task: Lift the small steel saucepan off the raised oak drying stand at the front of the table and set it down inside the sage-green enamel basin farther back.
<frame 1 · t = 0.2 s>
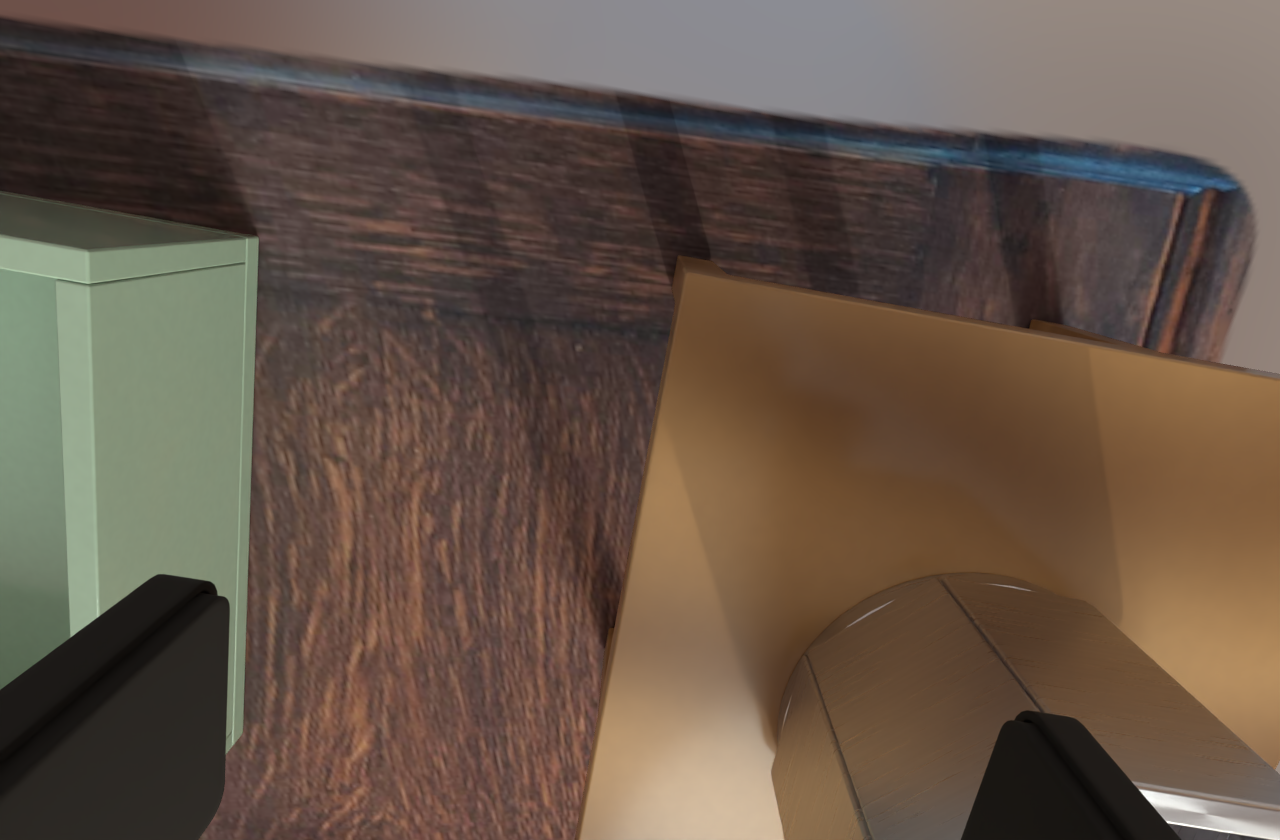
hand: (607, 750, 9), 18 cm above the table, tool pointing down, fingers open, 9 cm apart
saucepan: (948, 725, 15), point 12 cm above the table, touching drying stand, gripper
drying stand: (818, 500, 27), on the table
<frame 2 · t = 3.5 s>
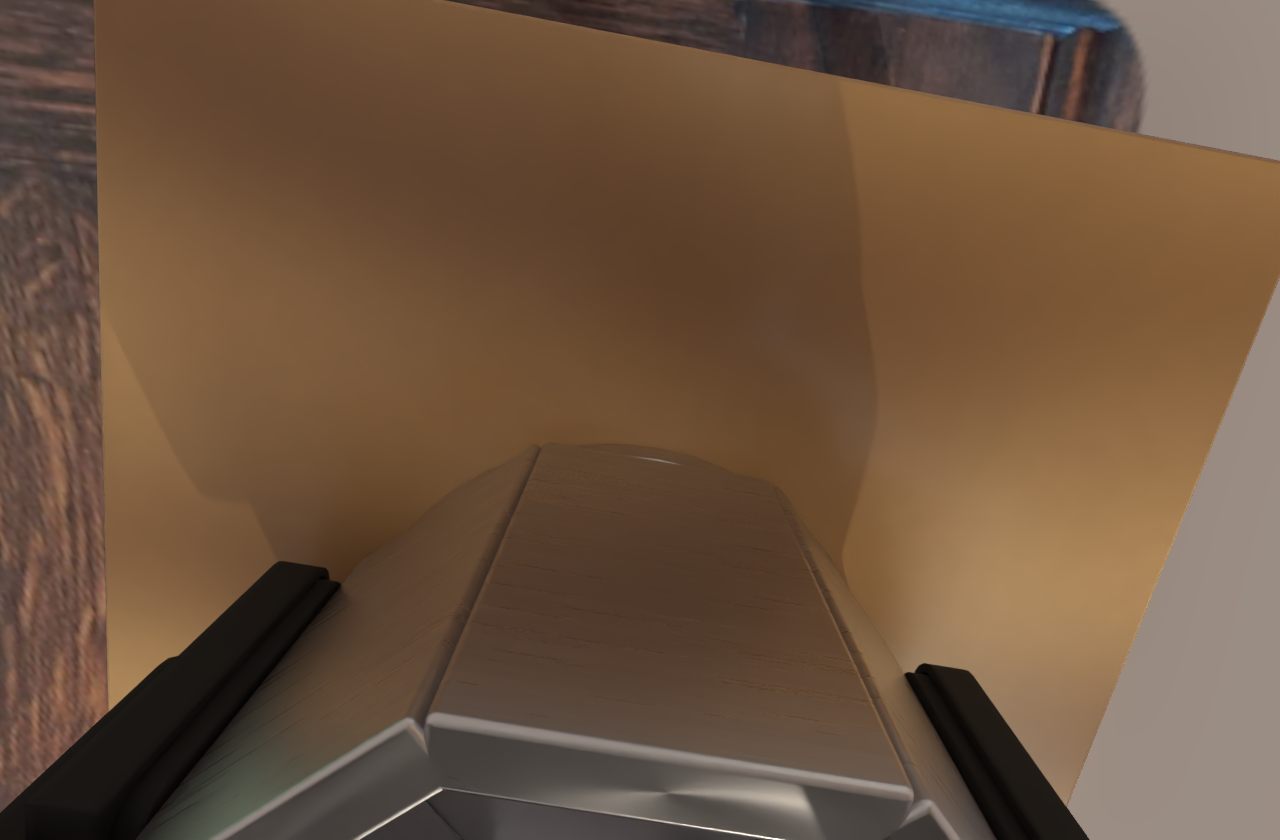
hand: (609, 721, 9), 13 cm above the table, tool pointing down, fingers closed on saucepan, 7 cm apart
saucepan: (611, 680, 10), point 12 cm above the table, touching drying stand, gripper
drying stand: (629, 429, 22), on the table
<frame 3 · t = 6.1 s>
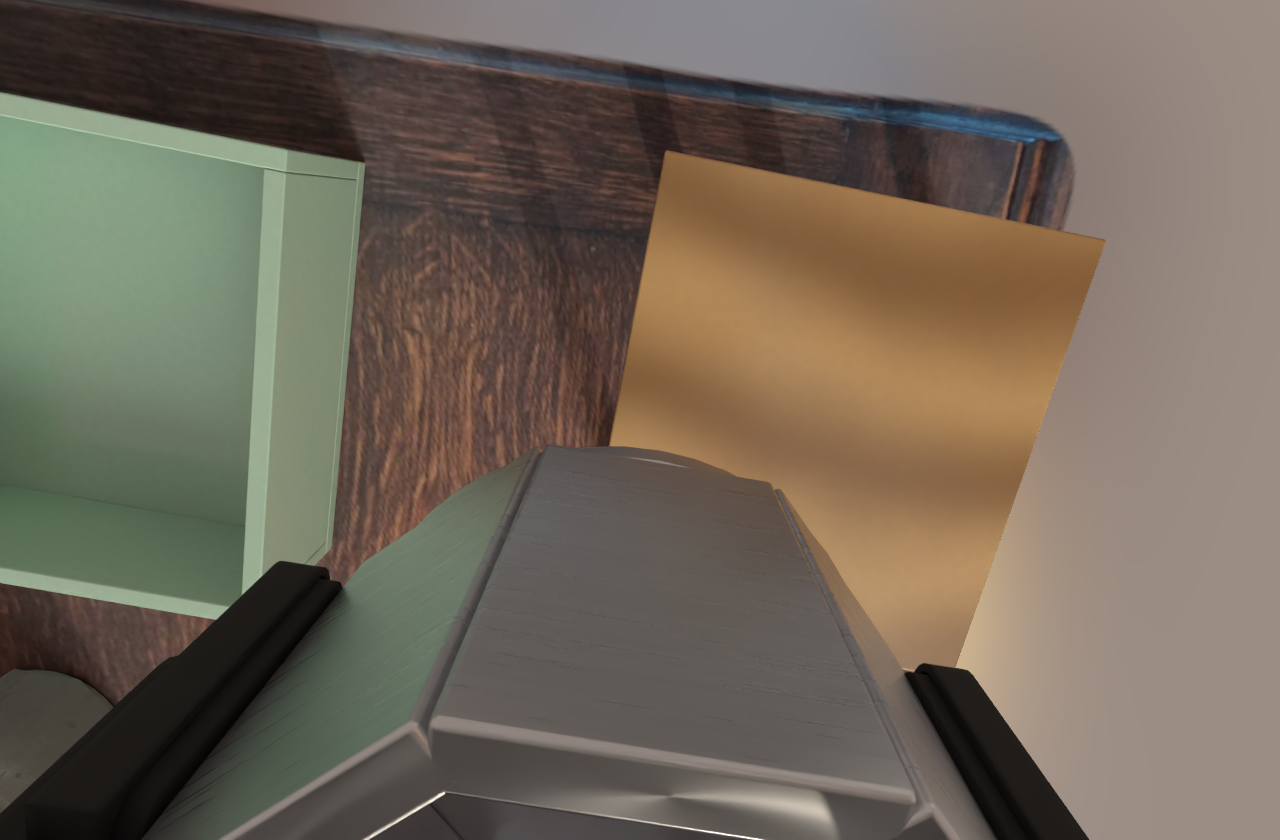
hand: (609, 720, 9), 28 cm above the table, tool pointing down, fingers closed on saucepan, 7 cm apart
saucepan: (612, 682, 10), point 27 cm above the table, touching gripper
drying stand: (766, 367, 37), on the table
coffeepot: (73, 741, 43), on the table
basin: (146, 331, 36), on the table
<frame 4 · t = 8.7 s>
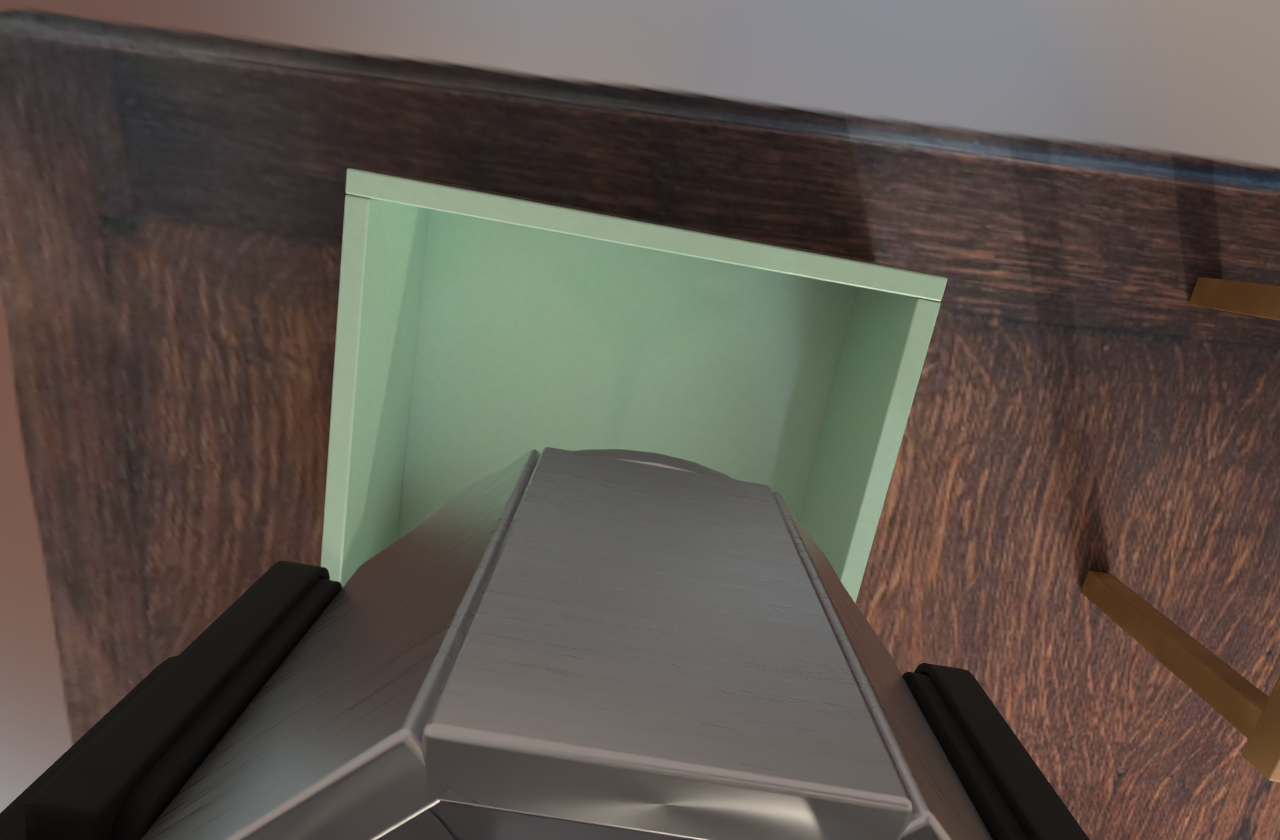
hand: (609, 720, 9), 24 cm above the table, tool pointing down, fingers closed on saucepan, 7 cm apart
saucepan: (610, 685, 10), point 23 cm above the table, touching gripper
drying stand: (1273, 467, 34), on the table
basin: (612, 439, 34), on the table
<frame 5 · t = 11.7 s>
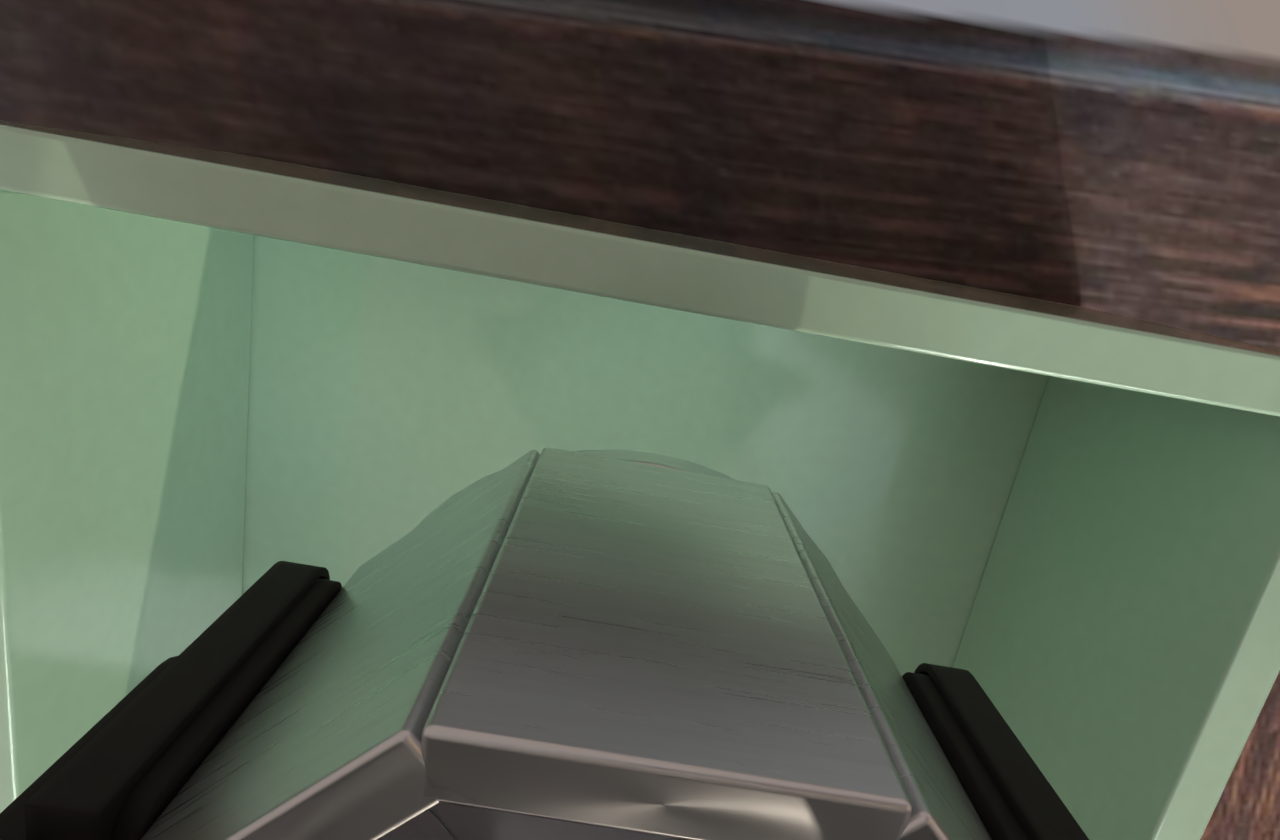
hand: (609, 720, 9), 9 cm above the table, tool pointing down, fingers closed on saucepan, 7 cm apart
saucepan: (610, 685, 10), point 8 cm above the table, touching gripper
basin: (603, 609, 20), on the table
when the fingers open (2 cm above the table, at t = 14.1 s): saucepan stays where it is, resting on basin.
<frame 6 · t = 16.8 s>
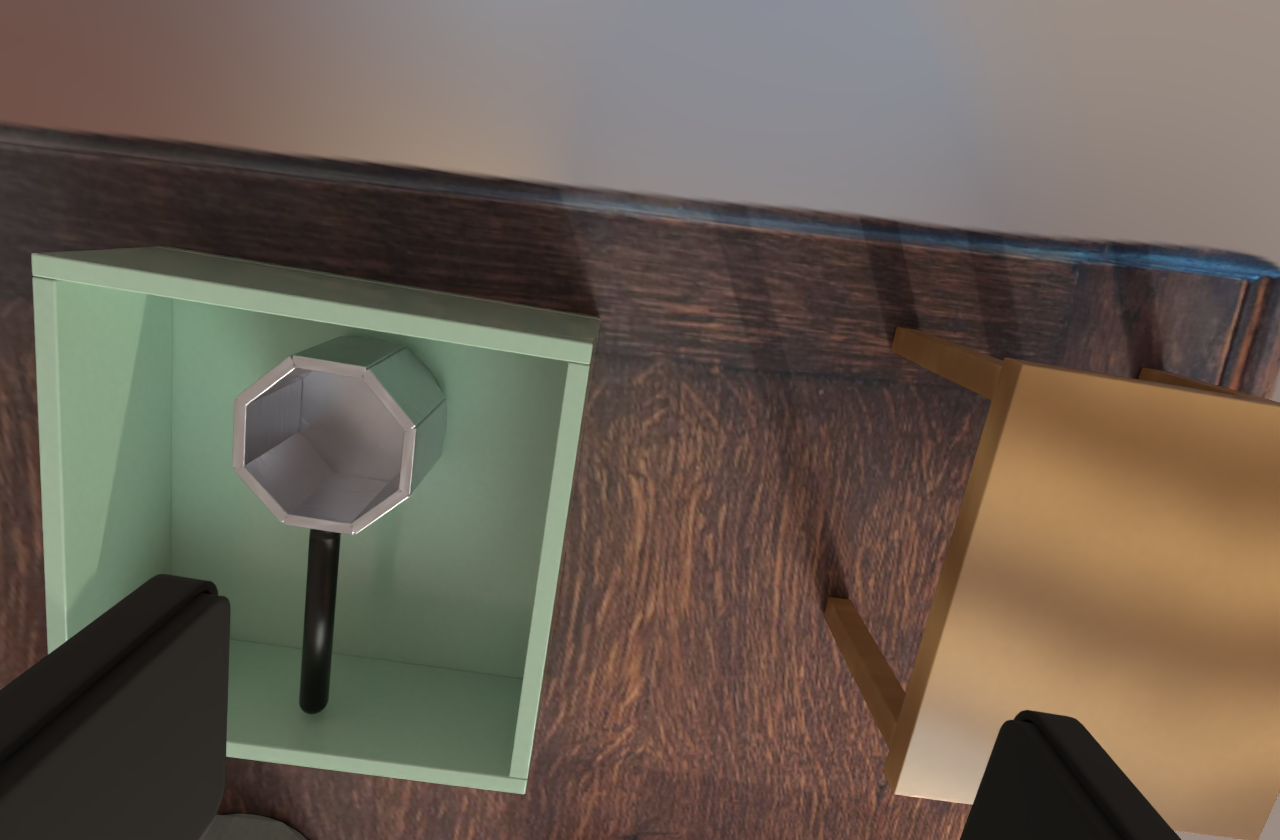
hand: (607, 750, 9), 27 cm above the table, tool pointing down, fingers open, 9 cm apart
saucepan: (371, 412, 34), point 1 cm above the table, touching basin
drying stand: (987, 498, 37), on the table
basin: (371, 483, 36), on the table
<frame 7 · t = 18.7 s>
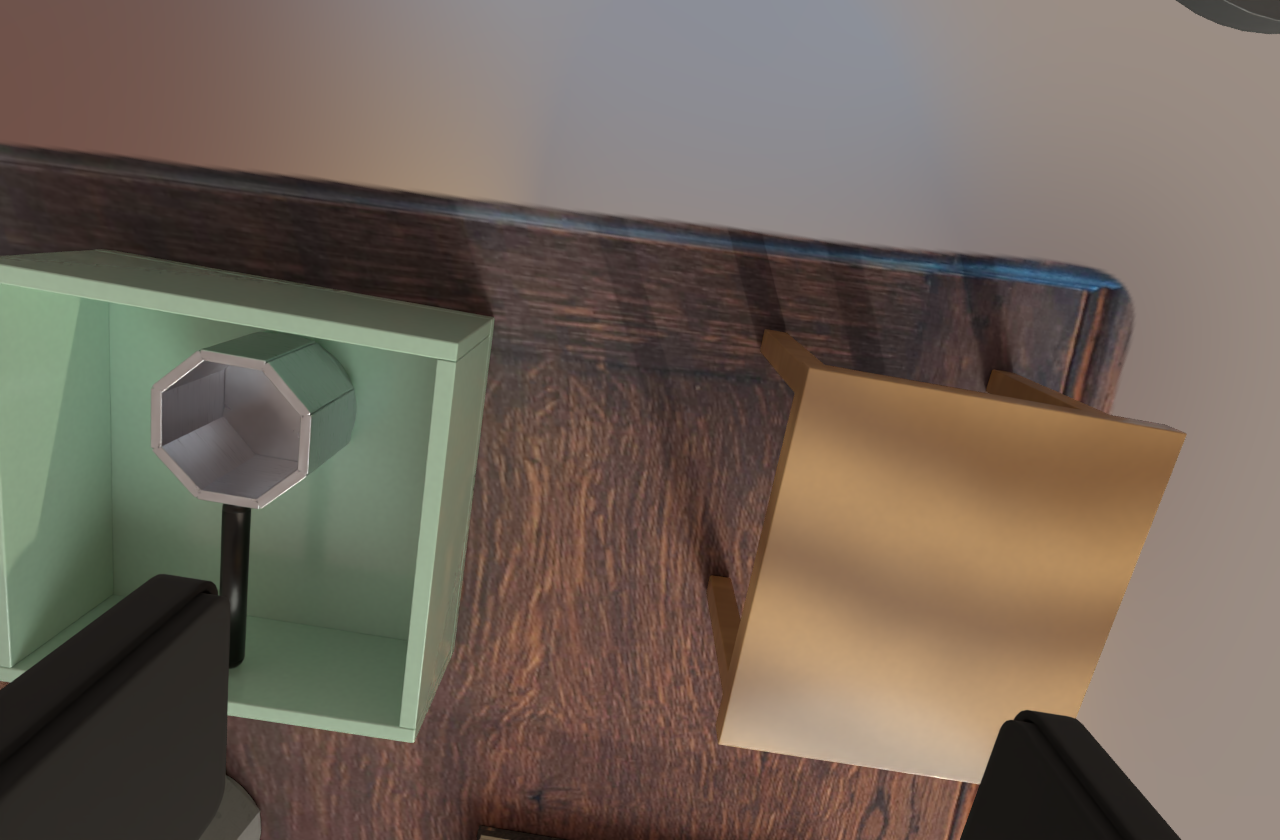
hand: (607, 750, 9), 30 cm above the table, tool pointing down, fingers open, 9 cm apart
saucepan: (288, 400, 38), point 1 cm above the table, touching basin
drying stand: (853, 487, 40), on the table
coffeepot: (209, 825, 47), on the table
basin: (292, 465, 40), on the table
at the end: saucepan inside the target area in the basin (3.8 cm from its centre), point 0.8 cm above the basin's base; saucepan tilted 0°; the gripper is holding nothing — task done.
